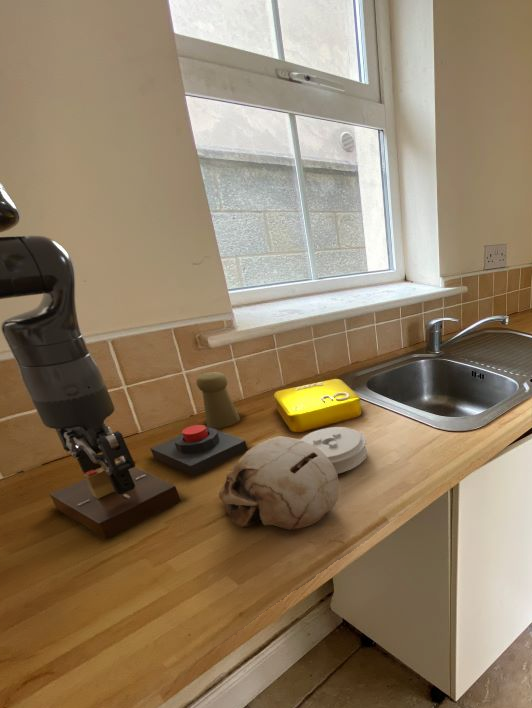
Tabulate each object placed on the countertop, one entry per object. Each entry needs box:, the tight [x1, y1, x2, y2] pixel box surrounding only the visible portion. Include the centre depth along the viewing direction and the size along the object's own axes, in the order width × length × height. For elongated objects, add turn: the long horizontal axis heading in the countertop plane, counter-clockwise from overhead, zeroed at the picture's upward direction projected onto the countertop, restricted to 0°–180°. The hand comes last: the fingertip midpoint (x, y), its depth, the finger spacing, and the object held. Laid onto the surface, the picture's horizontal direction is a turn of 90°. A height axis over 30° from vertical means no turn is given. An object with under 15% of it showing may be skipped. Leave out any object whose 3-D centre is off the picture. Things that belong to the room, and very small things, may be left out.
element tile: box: [273, 378, 362, 433], centre depth 101 cm, size 15×15×5 cm
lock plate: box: [49, 466, 181, 540], centre depth 71 cm, size 14×10×3 cm
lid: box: [300, 426, 368, 475], centre depth 84 cm, size 13×13×5 cm
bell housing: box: [150, 425, 249, 477], centre depth 84 cm, size 12×10×4 cm
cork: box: [196, 371, 241, 429], centre depth 94 cm, size 6×6×11 cm
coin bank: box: [218, 435, 340, 531], centre depth 69 cm, size 16×17×13 cm
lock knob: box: [82, 460, 119, 499], centre depth 69 cm, size 5×1×4 cm, turn 155°
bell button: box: [181, 424, 208, 442], centre depth 83 cm, size 4×4×2 cm
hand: (110, 483), depth 69 cm, fingers open, 8 cm apart
